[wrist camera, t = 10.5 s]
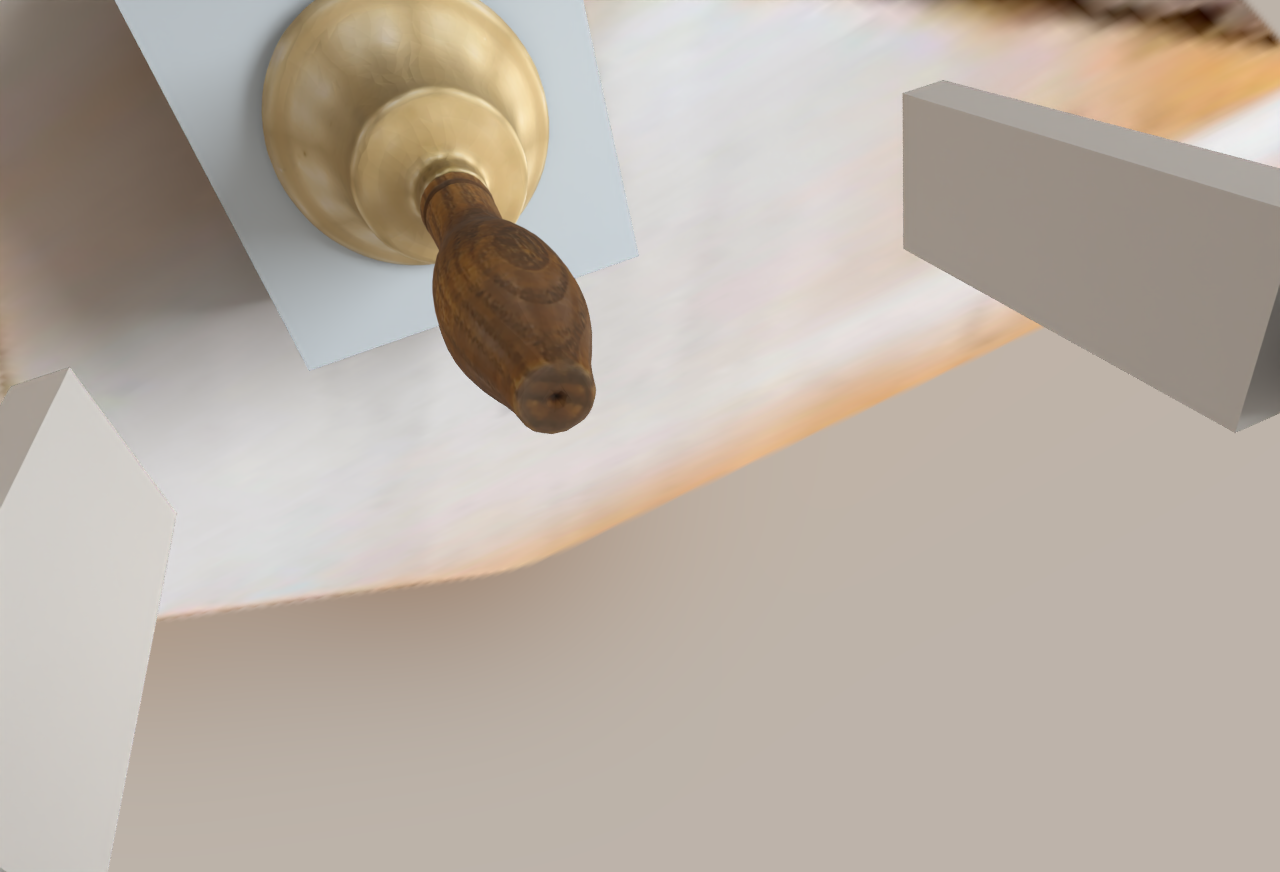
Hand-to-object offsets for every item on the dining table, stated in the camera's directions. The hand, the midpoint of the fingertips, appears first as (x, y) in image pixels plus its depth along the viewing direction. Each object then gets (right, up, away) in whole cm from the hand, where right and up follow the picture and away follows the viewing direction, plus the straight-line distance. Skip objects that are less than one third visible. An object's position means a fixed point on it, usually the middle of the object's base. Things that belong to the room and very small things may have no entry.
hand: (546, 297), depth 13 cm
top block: (-7, +9, +15) cm, 19 cm away
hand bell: (-5, +7, +12) cm, 15 cm away
